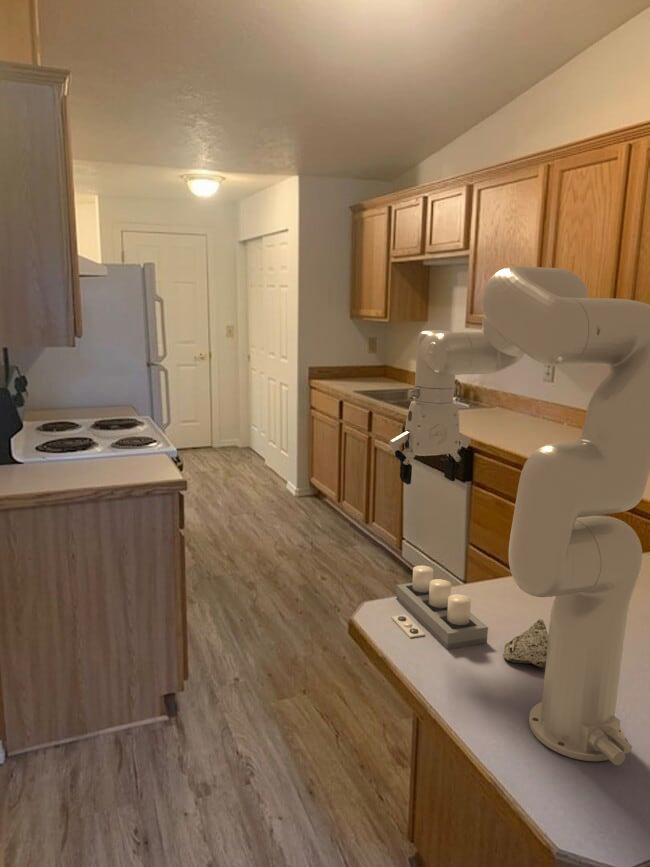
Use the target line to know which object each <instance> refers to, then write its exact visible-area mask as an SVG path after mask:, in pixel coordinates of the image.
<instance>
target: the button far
mask: <svg viewBox="0 0 650 867" xmlns="http://www.w3.org/2000/svg"><path fill="white" fill-rule="evenodd" d="M431 580H434V569H433V568H432V567H431V566H428V565H416V566H414V567H413V568H412V582H411V583H412V588H413V590H415V591H417V592H429V588H430V581H431Z"/></svg>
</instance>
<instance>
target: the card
mask: <svg viewBox="0 0 650 867" xmlns="http://www.w3.org/2000/svg"><path fill="white" fill-rule="evenodd" d="M391 619H392V621H394V623H396V625H397V626H398V627H399V628H400V629H401V630H402V631H403V632H404V633H405V634H406V636H408V637H409V639H413V638H419V637H425V636H426V633H424V632H423V631H422V629H421V628H419V626H418V625H417V624H416V623H415V622H413V620H412V619H410V618H409V616H408V615H407V614H400V615H393V616H391Z"/></svg>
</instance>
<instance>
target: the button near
mask: <svg viewBox="0 0 650 867" xmlns="http://www.w3.org/2000/svg"><path fill="white" fill-rule="evenodd" d="M471 602H472V599H471V597H469V596H467V595H464V594H459V593H458V594H457V593H456V594H455V593H454V594H451V595H450V596H449V597H448V610H447V620H448V621H449V622H450V623H452V624H456V625H466V624H468V623H469V621H470V613H471V607H472V606H471V605H472V604H471Z"/></svg>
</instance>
